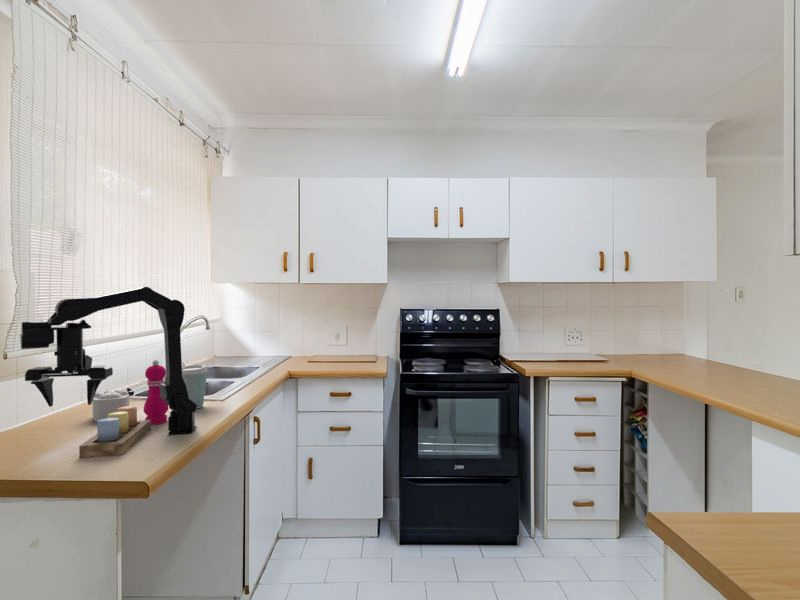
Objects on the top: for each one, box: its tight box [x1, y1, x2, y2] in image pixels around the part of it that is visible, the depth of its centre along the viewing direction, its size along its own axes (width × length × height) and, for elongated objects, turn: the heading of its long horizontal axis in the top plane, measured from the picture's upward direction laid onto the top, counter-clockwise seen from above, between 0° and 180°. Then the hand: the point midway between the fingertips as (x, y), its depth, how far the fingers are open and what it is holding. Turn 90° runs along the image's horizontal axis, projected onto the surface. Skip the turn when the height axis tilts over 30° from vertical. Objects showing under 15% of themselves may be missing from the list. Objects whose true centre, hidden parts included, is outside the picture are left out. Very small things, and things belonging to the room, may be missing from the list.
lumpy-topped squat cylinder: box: [92, 388, 130, 422], centre depth 167 cm, size 10×13×9 cm
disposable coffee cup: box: [182, 364, 209, 410], centre depth 179 cm, size 11×11×15 cm
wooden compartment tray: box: [78, 419, 152, 458], centre depth 138 cm, size 10×24×3 cm, turn 11°
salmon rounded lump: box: [117, 405, 138, 427], centre depth 144 cm, size 5×5×5 cm
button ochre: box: [108, 412, 129, 434], centre depth 138 cm, size 5×5×5 cm
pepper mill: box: [143, 360, 169, 425], centre depth 159 cm, size 7×7×20 cm
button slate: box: [96, 418, 119, 442], centre depth 131 cm, size 5×5×5 cm
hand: (70, 405), depth 130 cm, fingers open, 9 cm apart
